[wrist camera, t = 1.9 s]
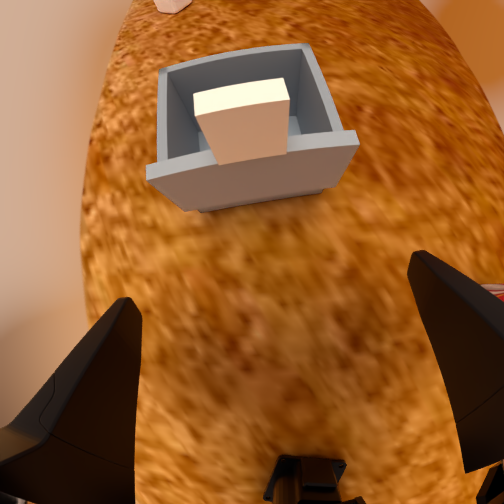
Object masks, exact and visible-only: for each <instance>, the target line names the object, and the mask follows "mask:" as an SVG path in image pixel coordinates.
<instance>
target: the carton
mask: <svg viewBox="0 0 504 504" xmlns="http://www.w3.org/2000/svg"><path fill="white" fill-rule="evenodd" d="M277 78H283V79H284V82H285V85H286V88H287V92H288V95H289V98H290V106H289V123H288V136H294V135H303V134H312V133H322V132H334V131H344V130H343V127H342V124H341V121H340V119H339V116H338V113H337V110H336V107H335V105H334V102H333V99H332V97H331V94H330V92H329V89H328V87H327V84H326V82H325V79H324V77H323V74H322V72H321V70H320V67H319V65H318V63H317V61H316V58H315V56H314V54H313V52H312V50H311V47H310V45H309V43H301V44H286V45H275V46H266V47H258V48H250V49H244V50H237V51H232V52H226V53H221V54H216V55H211V56H207V57H202V58H198V59H194V60H190V61H186V62H183V63H179V64H175V65H172V66H169V67H165V68H162V69H159V79H158V103H157V162H160V161H164V160H168V159H172V158H176V157H180V156H184V155H188V154H192V153H197V152H201V151H206V150H210V149H211V148H210V146H209V144H208V142H207V140H206V138H205V136H204V134H203V132H202V130H201V128H200V126H199V124H198V122H197V119H196V117H195V111H194V96H193V94H194V93H198V92H202V91H206V90H211V89H216V88H220V87H225V86H231V85H236V84H242V83H248V82H254V81H261V80H269V79H277ZM322 191H323V189H317V190H309V191H302V192H295V193H289V194H282V195H276V196H269V197H263V198H257V199H251V200H245V201H240V202H234V203H228V204H223V205H217V206H212V207H207V208H202V209H197V210H198V211H199V212H200V213H202V212H207V211H213V210H218V209H224V208H229V207H235V206H240V205H246V204H252V203H258V202H264V201H270V200H277V199H283V198H290V197H296V196H303V195H310V194H317V193H322Z"/></svg>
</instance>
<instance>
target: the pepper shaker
mask: <svg viewBox="0 0 504 504" xmlns="http://www.w3.org/2000/svg"><path fill="white" fill-rule="evenodd" d="M154 2H155V4H156V7H157V9H158V11H159V12H164V13H177V12H179V11H180V10H182V9H183V8H185V7H186V6H187V5H189V4H190V3H191V2H192V0H154Z"/></svg>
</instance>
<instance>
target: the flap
mask: <svg viewBox="0 0 504 504" xmlns="http://www.w3.org/2000/svg"><path fill="white" fill-rule="evenodd" d="M193 96H194V111H195V117H196V119H197V122H198V124H199V126H200V128H201V130H202V132H203V134H204V136H205V138H206V140H207V142H208V144H209V146H210V148H211V149H210V150H206V151H201V152H197V153H192V154H188V155H184V156H180V157H176V158H172V159H168V160H164V161H160V162H157V163H153V164H149V165H146V181H148V182H149V183H150V184H151V185H153V186H154V187H155V188H156V189H157V190H159V191H160V192H161V193H162V194H164V195H165V196H166V197H167V198H168V199H170V200H171V201H172V202H173V203H175V204H176V205H177V206H178V207H180V208H181V209H182V210H183V211H184V212H187V211H192V210H197V209H202V208H207V207H212V206H217V205H223V204H228V203H234V202H240V201H245V200H251V199H257V198H263V197H269V196H276V195H282V194H289V193H295V192H302V191H309V190H317V189H324V188H332V187H336V185H337V183H338V182H339V180H340V178H341V176H342V175H343V173H344V171H345V170H346V168H347V166H348V164H349V163H350V161H351V159H352V157H353V156H354V154H355V152H356V150H357V149H358V147H359V145H360V143H359V140H358V137H357V134H356V132H355V130H348V131H334V132H322V133H312V134H303V135H294V136H288V123H289V106H290V98H289V95H288V92H287V88H286V85H285V82H284V79H283V78H277V79H269V80H261V81H254V82H248V83H242V84H236V85H231V86H225V87H220V88H216V89H211V90H206V91H202V92H198V93H194V94H193Z"/></svg>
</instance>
